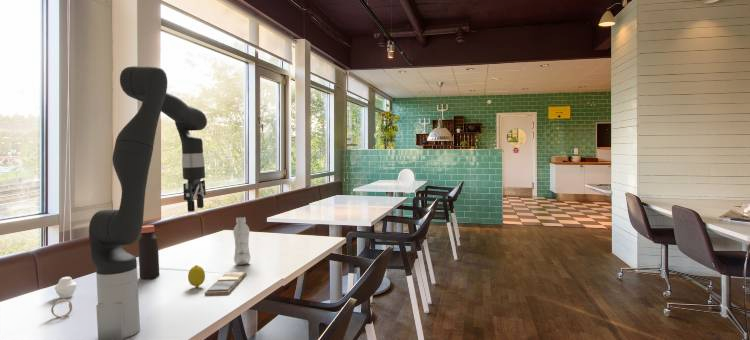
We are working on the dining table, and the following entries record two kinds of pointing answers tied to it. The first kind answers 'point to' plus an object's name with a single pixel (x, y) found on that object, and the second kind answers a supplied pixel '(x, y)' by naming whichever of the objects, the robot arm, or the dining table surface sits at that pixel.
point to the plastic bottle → (241, 242)
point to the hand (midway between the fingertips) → (196, 209)
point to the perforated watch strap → (66, 313)
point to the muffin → (65, 287)
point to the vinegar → (148, 253)
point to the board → (226, 283)
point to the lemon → (196, 276)
